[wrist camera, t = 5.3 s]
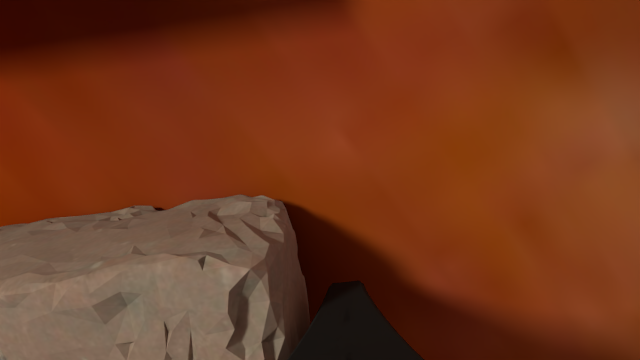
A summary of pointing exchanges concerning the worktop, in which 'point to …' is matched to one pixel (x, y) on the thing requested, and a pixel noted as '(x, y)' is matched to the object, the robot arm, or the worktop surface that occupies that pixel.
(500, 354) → the worktop surface
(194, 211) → the brick
